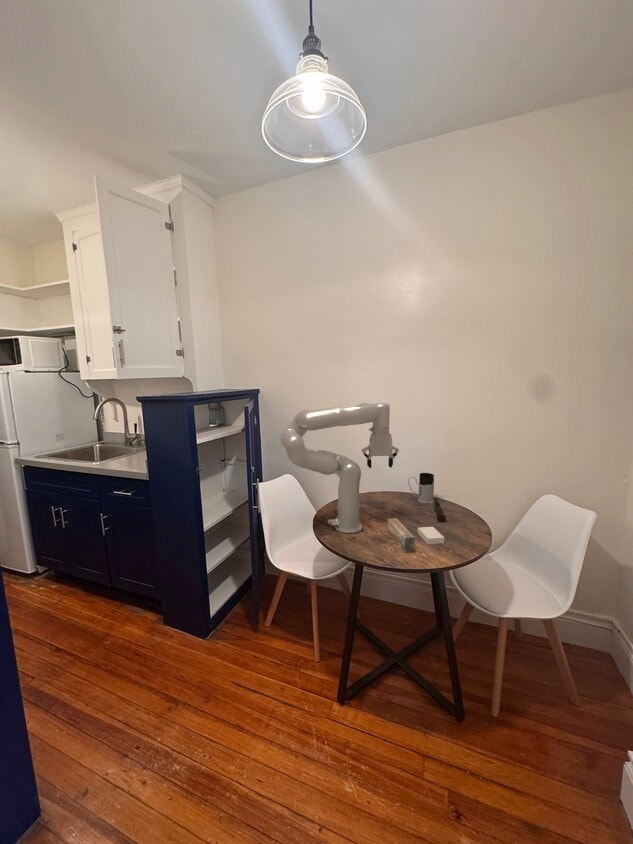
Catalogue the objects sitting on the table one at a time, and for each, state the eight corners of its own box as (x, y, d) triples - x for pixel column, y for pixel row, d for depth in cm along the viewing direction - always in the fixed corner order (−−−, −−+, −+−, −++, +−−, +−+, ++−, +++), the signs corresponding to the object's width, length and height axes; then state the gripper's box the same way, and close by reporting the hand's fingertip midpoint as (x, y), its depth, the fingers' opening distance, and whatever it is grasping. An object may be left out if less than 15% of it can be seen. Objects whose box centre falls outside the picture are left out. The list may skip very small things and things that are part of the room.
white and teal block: (417, 533, 142) (427, 545, 132) (417, 527, 141) (428, 538, 132) (432, 532, 143) (444, 543, 133) (433, 526, 142) (444, 537, 132)
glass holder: (436, 503, 174) (437, 477, 173) (409, 503, 176) (410, 476, 174) (431, 498, 183) (432, 472, 181) (406, 497, 184) (406, 472, 182)
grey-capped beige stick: (404, 552, 125) (404, 538, 125) (387, 531, 143) (387, 518, 142) (414, 551, 126) (414, 537, 125) (396, 531, 144) (396, 518, 143)
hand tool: (445, 523, 151) (446, 513, 151) (436, 522, 152) (437, 513, 152) (441, 508, 170) (441, 499, 169) (433, 507, 171) (433, 498, 170)
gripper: (363, 432, 142) (363, 469, 144) (402, 431, 143) (400, 468, 145) (360, 429, 149) (359, 465, 151) (396, 429, 151) (395, 464, 153)
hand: (379, 467), depth 148 cm, fingers open, 9 cm apart
